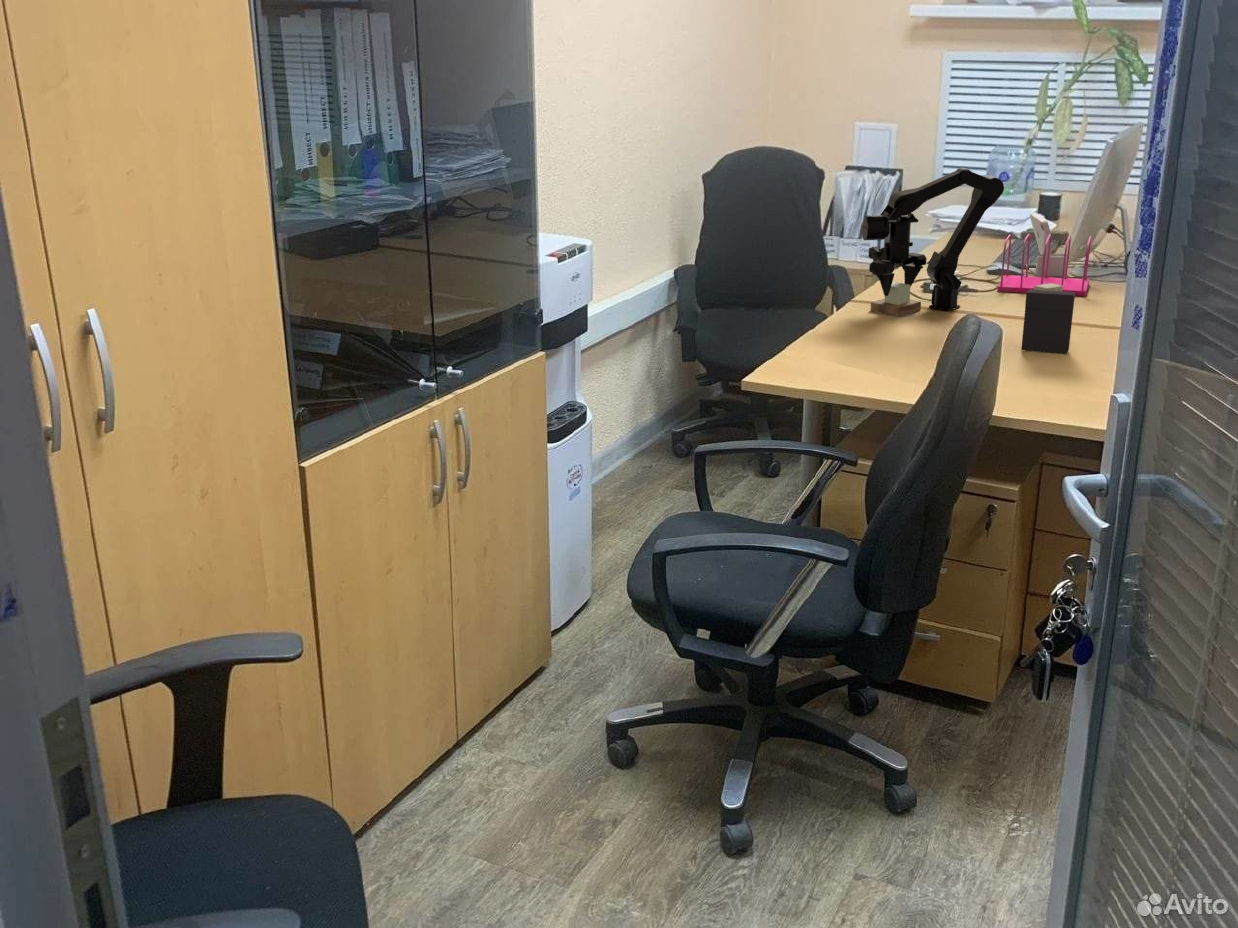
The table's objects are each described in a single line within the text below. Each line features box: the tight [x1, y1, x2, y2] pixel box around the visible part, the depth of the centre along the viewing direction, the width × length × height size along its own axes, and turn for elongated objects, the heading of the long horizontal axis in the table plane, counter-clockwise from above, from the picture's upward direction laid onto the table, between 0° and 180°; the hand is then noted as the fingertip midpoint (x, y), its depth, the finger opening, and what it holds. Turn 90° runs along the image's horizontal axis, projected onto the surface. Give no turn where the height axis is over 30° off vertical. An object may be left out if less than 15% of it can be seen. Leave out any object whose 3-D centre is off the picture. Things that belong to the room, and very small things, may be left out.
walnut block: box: [870, 298, 922, 317], centre depth 330 cm, size 10×10×3 cm
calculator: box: [1021, 290, 1076, 355], centre depth 284 cm, size 11×4×15 cm, turn 65°
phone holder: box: [1028, 212, 1069, 278], centre depth 369 cm, size 17×10×18 cm, turn 175°
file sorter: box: [996, 233, 1092, 297], centre depth 348 cm, size 17×25×16 cm
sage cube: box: [884, 281, 912, 305], centre depth 329 cm, size 5×5×5 cm
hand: (896, 293), depth 329 cm, fingers open, 9 cm apart
